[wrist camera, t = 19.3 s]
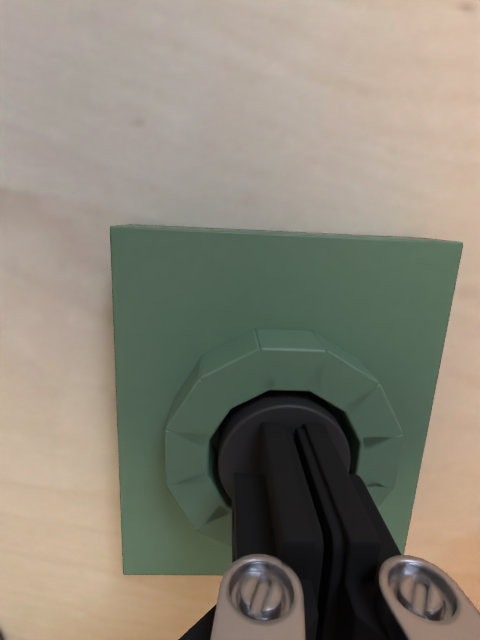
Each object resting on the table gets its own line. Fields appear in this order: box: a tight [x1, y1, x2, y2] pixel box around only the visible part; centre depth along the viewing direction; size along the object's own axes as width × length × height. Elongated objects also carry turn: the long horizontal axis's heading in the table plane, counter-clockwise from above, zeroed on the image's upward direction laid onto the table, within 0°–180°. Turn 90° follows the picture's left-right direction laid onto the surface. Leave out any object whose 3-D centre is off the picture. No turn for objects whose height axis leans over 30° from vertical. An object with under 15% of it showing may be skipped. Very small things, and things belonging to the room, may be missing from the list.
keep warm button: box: [218, 390, 351, 499], centre depth 11 cm, size 4×4×2 cm
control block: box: [110, 224, 463, 575], centre depth 13 cm, size 12×10×4 cm
